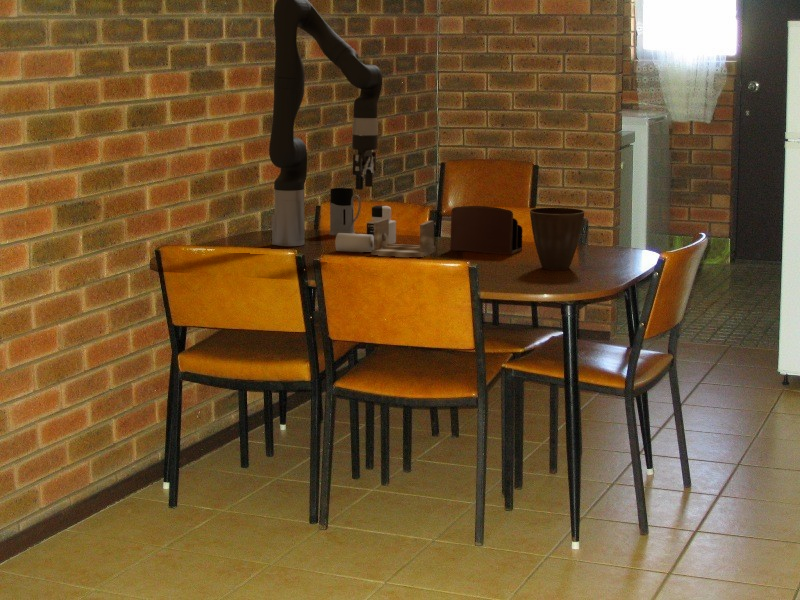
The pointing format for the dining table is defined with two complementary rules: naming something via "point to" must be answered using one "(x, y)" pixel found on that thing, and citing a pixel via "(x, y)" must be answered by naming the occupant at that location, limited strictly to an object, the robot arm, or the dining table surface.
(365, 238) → the paper roll
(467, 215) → the letter holder
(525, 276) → the dining table surface
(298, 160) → the robot arm
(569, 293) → the dining table surface
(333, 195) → the glass holder
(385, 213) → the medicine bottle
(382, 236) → the roll holder
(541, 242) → the plant pot
